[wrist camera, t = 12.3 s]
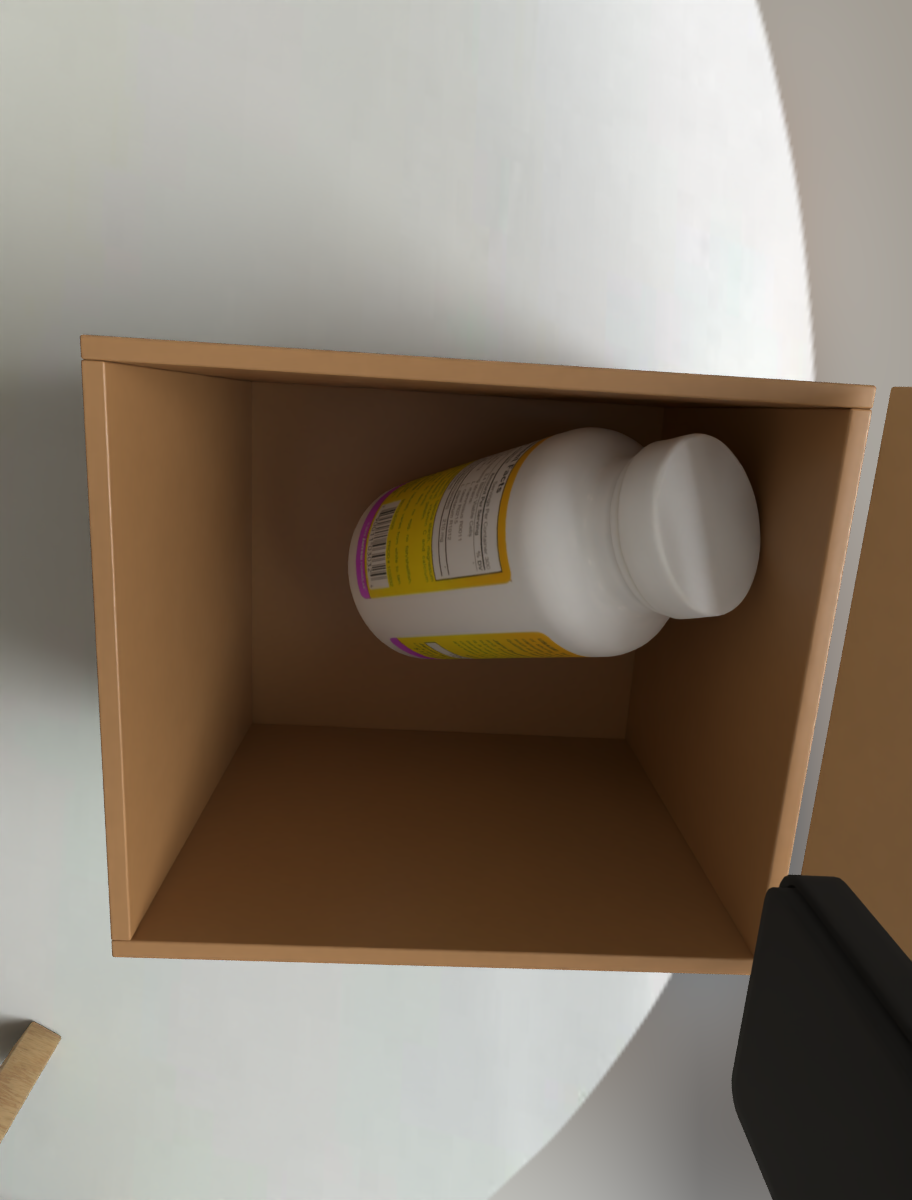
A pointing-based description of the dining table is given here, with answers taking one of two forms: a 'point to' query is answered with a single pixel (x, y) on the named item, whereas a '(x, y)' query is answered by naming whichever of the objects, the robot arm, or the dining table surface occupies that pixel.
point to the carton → (435, 673)
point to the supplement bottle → (557, 548)
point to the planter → (23, 1070)
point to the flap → (875, 706)
